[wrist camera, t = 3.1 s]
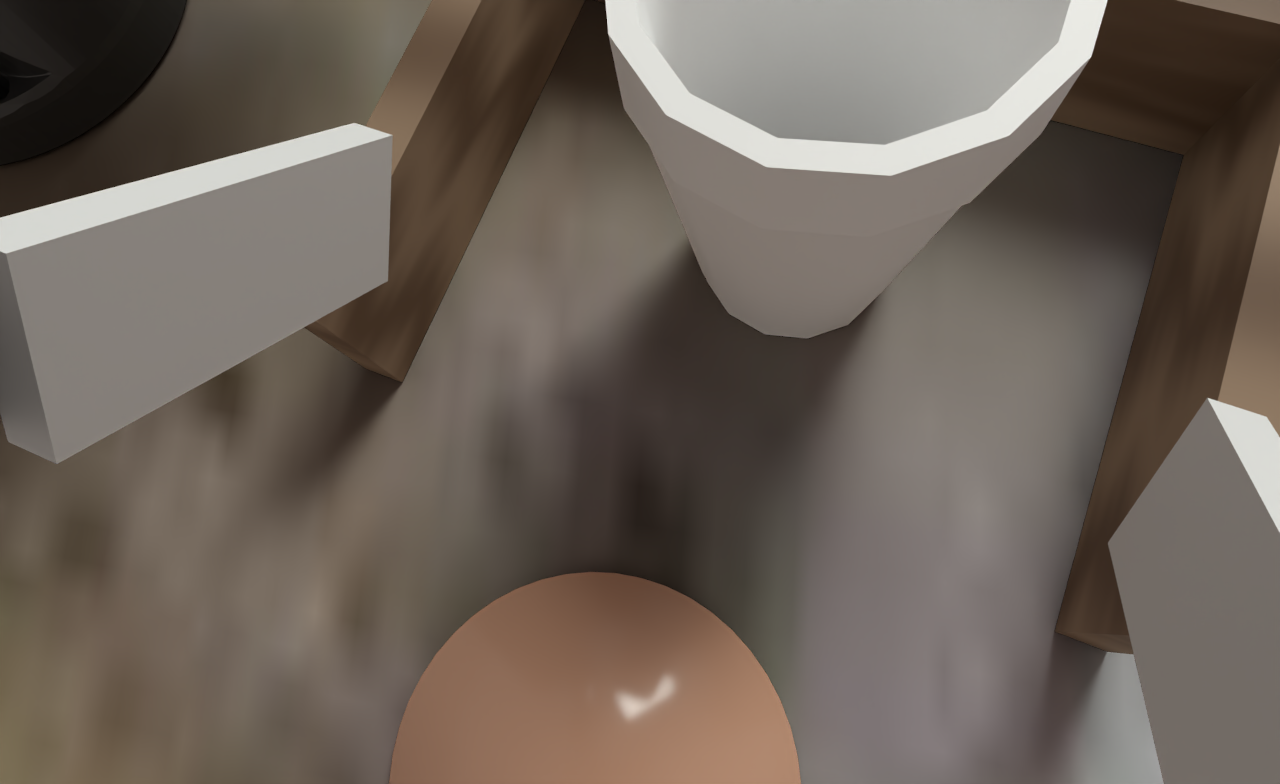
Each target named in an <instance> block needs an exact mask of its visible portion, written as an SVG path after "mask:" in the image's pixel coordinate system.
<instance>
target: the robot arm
mask: <svg viewBox="0 0 1280 784" xmlns="http://www.w3.org/2000/svg"><path fill="white" fill-rule="evenodd" d="M185 4H186V0H0V165H2V164H7V163H12V162H16V161H20V160H24V159H27V158H30V157H33V156H36V155H39V154H42V153H44V152H47V151H49V150H52V149H54V148H56V147H58V146H61V145H62V144H64V143H66V142H68V141H70V140H72V139H74V138H76V137H77V136H79V135H81V134H83V133H84V132H86V131H87V130H89V129H90V128H92V127H93V126H95V125H96V124H98V123H99V122H101V121H102V120H103V119H105V118H106V117H107V116H109V115H110V114H111V113H112V112H113V111H115V110H116V109H117V108H118V107H119V106H120V105H122V104H123V103H124V102H125V101H126V100H127V99H128V98H129V97H130V96H131V95H132V94H133V93H134V92H135V91H136V90H137V89H138V88H139V87H140V85H141V84H142V83H143V82H144V81H145V79H146V78H147V77H148V76H149V75H150V73H151V72H152V71H153V69H154V68H155V67H156V65H157V64H158V62H159V61H160V59H161V58H162V56H163V55H164V53H165V51H166V49H167V48H168V46H169V44H170V42H171V40H172V38H173V36H174V34H175V32H176V30H177V28H178V25H179V22H180V20H181V17H182V14H183V11H184V8H185ZM392 138H393V135H390V134H387V133H384V132H381V131H378V130H375V129H372V128H369V127H366V126H362V125H359V124H356V123H352V124H348V125H345V126H341V127H337V128H333V129H330V130H326V131H322V132H318V133H315V134H311V135H307V136H303V137H300V138H296V139H292V140H289V141H285V142H281V143H277V144H274V145H270V146H266V147H262V148H259V149H255V150H251V151H247V152H244V153H240V154H236V155H232V156H229V157H225V158H221V159H217V160H214V161H210V162H206V163H202V164H199V165H195V166H191V167H188V168H184V169H180V170H176V171H173V172H169V173H165V174H161V175H158V176H154V177H150V178H146V179H143V180H139V181H135V182H131V183H128V184H124V185H120V186H116V187H113V188H109V189H105V190H101V191H98V192H94V193H90V194H87V195H83V196H79V197H75V198H72V199H68V200H64V201H60V202H57V203H53V204H49V205H45V206H42V207H38V208H34V209H30V210H27V211H23V212H19V213H15V214H12V215H8V216H4V217H0V415H1V419H2V422H3V426H4V429H5V433H6V437H7V440H8V442H10V443H12V444H14V445H16V446H18V447H20V448H23V449H25V450H27V451H29V452H31V453H33V454H36V455H38V456H40V457H42V458H44V459H47V460H49V461H51V462H53V463H55V464H58V463H60V462H62V461H63V460H65V459H67V458H69V457H71V456H72V455H74V454H76V453H78V452H80V451H81V450H83V449H85V448H87V447H89V446H90V445H92V444H94V443H96V442H98V441H100V440H101V439H103V438H105V437H107V436H109V435H110V434H112V433H114V432H116V431H118V430H119V429H121V428H123V427H125V426H127V425H128V424H130V423H132V422H134V421H136V420H137V419H139V418H141V417H143V416H145V415H146V414H148V413H150V412H152V411H154V410H156V409H157V408H159V407H161V406H163V405H165V404H166V403H168V402H170V401H172V400H174V399H175V398H177V397H179V396H181V395H183V394H184V393H186V392H188V391H190V390H192V389H193V388H195V387H197V386H199V385H201V384H203V383H204V382H206V381H208V380H210V379H212V378H213V377H215V376H217V375H219V374H221V373H222V372H224V371H226V370H228V369H230V368H231V367H233V366H235V365H237V364H239V363H240V362H242V361H244V360H246V359H248V358H249V357H251V356H253V355H255V354H257V353H259V352H260V351H262V350H264V349H266V348H268V347H269V346H271V345H273V344H275V343H277V342H278V341H280V340H282V339H284V338H286V337H287V336H289V335H291V334H293V333H295V332H296V331H298V330H300V329H302V328H304V327H306V326H307V325H309V324H311V323H313V322H315V321H316V320H318V319H320V318H322V317H324V316H325V315H327V314H329V313H331V312H333V311H334V310H336V309H338V308H340V307H342V306H343V305H345V304H347V303H349V302H351V301H352V300H354V299H356V298H358V297H360V296H362V295H363V294H365V293H367V292H369V291H371V290H372V289H374V288H376V287H378V286H380V285H381V284H383V283H385V282H387V281H388V264H389V232H390V201H391V169H392ZM1108 546H1109V550H1110V554H1111V559H1112V563H1113V567H1114V572H1115V576H1116V580H1117V584H1118V589H1119V593H1120V597H1121V602H1122V606H1123V610H1124V614H1125V619H1126V623H1127V627H1128V632H1129V636H1130V640H1131V645H1132V649H1133V653H1134V657H1135V662H1136V666H1137V670H1138V675H1139V679H1140V683H1141V687H1142V692H1143V696H1144V700H1145V705H1146V709H1147V713H1148V717H1149V722H1150V726H1151V730H1152V735H1153V739H1154V743H1155V748H1156V752H1157V756H1158V760H1159V765H1160V769H1161V773H1162V778H1163V782H1164V784H1280V437H1279V435H1278V434H1277V432H1276V431H1275V429H1274V428H1273V426H1272V424H1271V423H1270V421H1269V420H1268V418H1267V417H1266V416H1263V415H1260V414H1256V413H1253V412H1250V411H1247V410H1244V409H1241V408H1238V407H1235V406H1232V405H1228V404H1225V403H1222V402H1219V401H1216V400H1213V399H1210V398H1207V399H1206V400H1205V402H1204V403H1203V405H1202V406H1201V408H1200V409H1199V410H1198V412H1197V413H1196V415H1195V416H1194V418H1193V419H1192V421H1191V422H1190V424H1189V425H1188V426H1187V428H1186V429H1185V431H1184V432H1183V434H1182V435H1181V437H1180V438H1179V440H1178V441H1177V443H1176V444H1175V445H1174V447H1173V448H1172V450H1171V451H1170V453H1169V454H1168V456H1167V457H1166V459H1165V460H1164V462H1163V463H1162V464H1161V466H1160V467H1159V469H1158V470H1157V472H1156V473H1155V475H1154V476H1153V478H1152V479H1151V480H1150V482H1149V483H1148V485H1147V486H1146V488H1145V489H1144V491H1143V492H1142V494H1141V495H1140V497H1139V498H1138V499H1137V501H1136V502H1135V504H1134V505H1133V507H1132V508H1131V510H1130V511H1129V513H1128V514H1127V516H1126V517H1125V518H1124V520H1123V521H1122V523H1121V524H1120V526H1119V527H1118V529H1117V530H1116V532H1115V533H1114V534H1113V536H1112V537H1111V539H1110V540H1109V542H1108Z"/></svg>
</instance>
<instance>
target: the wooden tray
mask: <svg viewBox="0 0 1280 784" xmlns="http://www.w3.org/2000/svg"><path fill="white" fill-rule="evenodd" d="M594 1H598V2H602V3H606V2H605V0H594ZM584 2H585V0H432V1H431V3H430V5H429V7H428V9H427V11H426V12H425V14H424V16H423V18H422V20H421V22H420V24H419V26H418V28H417V29H416V31H415V33H414V35H413V37H412V39H411V41H410V43H409V45H408V47H407V48H406V50H405V52H404V54H403V56H402V58H401V60H400V62H399V64H398V65H397V67H396V69H395V71H394V73H393V75H392V77H391V79H390V81H389V83H388V84H387V86H386V88H385V90H384V92H383V94H382V96H381V98H380V100H379V101H378V103H377V105H376V107H375V109H374V111H373V113H372V115H371V117H370V118H369V120H368V122H367V124H366V127H369V128H372V129H375V130H378V131H381V132H384V133H387V134H390V135H393V138H392V169H391V201H390V232H389V264H388V281H387V282H385V283H383V284H381V285H380V286H378V287H376V288H374V289H372V290H371V291H369V292H367V293H365V294H363V295H362V296H360V297H358V298H356V299H354V300H352V301H351V302H349V303H347V304H345V305H343V306H342V307H340V308H338V309H336V310H334V311H333V312H331V313H329V314H327V315H325V316H324V317H322V318H320V319H318V320H316V321H315V322H313V323H311V324H309V325H307V326H306V327H305V328H306V329H308V330H309V331H311V332H312V333H314V334H315V335H317V336H318V337H320V338H321V339H322V340H324V341H325V342H327V343H328V344H330V345H331V346H333V347H334V348H336V349H337V350H339V351H340V352H342V353H343V354H345V355H346V356H348V357H349V358H351V359H352V360H354V361H355V362H356V363H358V364H359V365H361V366H362V367H364V368H366V369H368V370H371V371H374V372H376V373H379V374H381V375H384V376H387V377H389V378H392V379H394V380H397V381H400V382H403V380H404V378H405V376H406V373H407V371H408V369H409V367H410V365H411V363H412V361H413V359H414V357H415V355H416V353H417V350H418V348H419V346H420V344H421V342H422V340H423V338H424V336H425V334H426V332H427V330H428V328H429V325H430V323H431V321H432V319H433V317H434V315H435V313H436V311H437V309H438V307H439V305H440V302H441V300H442V298H443V296H444V294H445V292H446V290H447V288H448V286H449V284H450V282H451V279H452V277H453V275H454V273H455V271H456V269H457V267H458V265H459V263H460V261H461V259H462V256H463V254H464V252H465V250H466V248H467V246H468V244H469V242H470V240H471V238H472V236H473V233H474V231H475V229H476V227H477V225H478V223H479V221H480V219H481V217H482V215H483V213H484V210H485V208H486V206H487V204H488V202H489V200H490V198H491V196H492V194H493V192H494V190H495V188H496V185H497V183H498V181H499V179H500V177H501V175H502V173H503V171H504V169H505V167H506V165H507V162H508V160H509V158H510V156H511V154H512V152H513V150H514V148H515V146H516V144H517V142H518V139H519V137H520V135H521V133H522V131H523V129H524V127H525V125H526V123H527V121H528V119H529V116H530V114H531V112H532V110H533V108H534V106H535V104H536V102H537V100H538V98H539V96H540V93H541V91H542V89H543V87H544V85H545V83H546V81H547V79H548V77H549V75H550V73H551V70H552V68H553V66H554V64H555V62H556V60H557V58H558V56H559V54H560V52H561V50H562V48H563V45H564V43H565V41H566V39H567V37H568V35H569V33H570V31H571V29H572V27H573V25H574V22H575V20H576V18H577V16H578V14H579V12H580V10H581V8H582V6H583V4H584ZM1051 120H1053V121H1056V122H1060V123H1064V124H1068V125H1072V126H1076V127H1079V128H1083V129H1087V130H1091V131H1095V132H1098V133H1102V134H1106V135H1110V136H1114V137H1118V138H1121V139H1125V140H1129V141H1133V142H1137V143H1140V144H1144V145H1148V146H1152V147H1156V148H1160V149H1163V150H1167V151H1171V152H1175V153H1179V154H1182V155H1184V156H1183V160H1182V163H1181V167H1180V171H1179V174H1178V178H1177V182H1176V186H1175V189H1174V193H1173V197H1172V200H1171V204H1170V208H1169V211H1168V215H1167V219H1166V222H1165V226H1164V230H1163V234H1162V237H1161V241H1160V245H1159V248H1158V252H1157V256H1156V259H1155V263H1154V267H1153V270H1152V274H1151V278H1150V282H1149V285H1148V289H1147V293H1146V296H1145V300H1144V304H1143V307H1142V311H1141V315H1140V318H1139V322H1138V326H1137V330H1136V333H1135V337H1134V341H1133V344H1132V348H1131V352H1130V355H1129V359H1128V363H1127V366H1126V370H1125V374H1124V377H1123V381H1122V385H1121V389H1120V392H1119V396H1118V400H1117V403H1116V407H1115V411H1114V414H1113V418H1112V422H1111V425H1110V429H1109V433H1108V437H1107V440H1106V444H1105V448H1104V451H1103V455H1102V459H1101V462H1100V466H1099V470H1098V473H1097V477H1096V481H1095V485H1094V488H1093V492H1092V496H1091V499H1090V503H1089V507H1088V510H1087V514H1086V518H1085V521H1084V525H1083V529H1082V532H1081V536H1080V540H1079V544H1078V547H1077V551H1076V555H1075V558H1074V562H1073V566H1072V569H1071V573H1070V577H1069V580H1068V584H1067V588H1066V592H1065V595H1064V599H1063V603H1062V606H1061V610H1060V614H1059V617H1058V621H1057V625H1056V628H1055V632H1057V633H1060V634H1063V635H1065V636H1068V637H1071V638H1073V639H1076V640H1078V641H1081V642H1084V643H1086V644H1089V645H1092V646H1094V647H1097V648H1099V649H1102V650H1105V651H1107V652H1116V653H1126V654H1134V653H1133V649H1132V645H1131V640H1130V636H1129V632H1128V627H1127V623H1126V619H1125V614H1124V610H1123V606H1122V602H1121V597H1120V593H1119V589H1118V584H1117V580H1116V576H1115V572H1114V567H1113V563H1112V559H1111V554H1110V550H1109V546H1108V542H1109V540H1110V539H1111V537H1112V536H1113V534H1114V533H1115V532H1116V530H1117V529H1118V527H1119V526H1120V524H1121V523H1122V521H1123V520H1124V518H1125V517H1126V516H1127V514H1128V513H1129V511H1130V510H1131V508H1132V507H1133V505H1134V504H1135V502H1136V501H1137V499H1138V498H1139V497H1140V495H1141V494H1142V492H1143V491H1144V489H1145V488H1146V486H1147V485H1148V483H1149V482H1150V480H1151V479H1152V478H1153V476H1154V475H1155V473H1156V472H1157V470H1158V469H1159V467H1160V466H1161V464H1162V463H1163V462H1164V460H1165V459H1166V457H1167V456H1168V454H1169V453H1170V451H1171V450H1172V448H1173V447H1174V445H1175V444H1176V443H1177V441H1178V440H1179V438H1180V437H1181V435H1182V434H1183V432H1184V431H1185V429H1186V428H1187V426H1188V425H1189V424H1190V422H1191V421H1192V419H1193V418H1194V416H1195V415H1196V413H1197V412H1198V410H1199V409H1200V408H1201V406H1202V405H1203V403H1204V402H1205V400H1206V399H1207V398H1210V399H1213V400H1216V401H1219V402H1222V403H1225V404H1228V405H1232V406H1235V407H1238V408H1241V409H1244V410H1247V411H1250V412H1253V413H1256V414H1260V415H1263V416H1266V417H1267V418H1268V420H1269V421H1270V423H1271V424H1272V426H1273V428H1274V429H1275V431H1276V432H1277V434H1278V435H1279V437H1280V0H1108V1H1107V4H1106V8H1105V11H1104V15H1103V18H1102V21H1101V25H1100V28H1099V32H1098V35H1097V39H1096V42H1095V46H1094V49H1093V53H1092V56H1091V58H1090V60H1089V61H1088V63H1087V64H1086V66H1085V67H1084V69H1083V70H1082V72H1081V73H1080V75H1079V77H1078V78H1077V80H1076V81H1075V83H1074V84H1073V86H1072V87H1071V89H1070V90H1069V92H1068V93H1067V95H1066V97H1065V98H1064V100H1063V101H1062V103H1061V104H1060V106H1059V107H1058V109H1057V110H1056V112H1055V113H1054V115H1053V117H1052V118H1051Z"/></svg>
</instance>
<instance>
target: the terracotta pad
mask: <svg viewBox="0 0 1280 784" xmlns="http://www.w3.org/2000/svg"><path fill="white" fill-rule="evenodd" d="M389 784H801V779H800V771H799V763H798V756H797V752H796V748H795V743H794V739H793V735H792V731H791V727H790V725H789V722H788V719H787V717H786V714H785V711H784V709H783V706H782V703H781V701H780V699H779V697H778V695H777V693H776V691H775V689H774V687H773V685H772V683H771V681H770V679H769V678H768V676H767V674H766V672H765V671H764V669H763V668H762V667H761V665H760V664H759V662H758V661H757V659H756V658H755V656H754V655H753V653H752V652H751V651H750V649H749V648H748V647H747V646H746V645H745V644H744V643H743V641H742V640H741V639H740V638H739V637H738V636H737V635H736V634H735V633H734V631H733V630H732V629H731V628H729V627H728V626H727V625H726V624H725V623H724V622H723V621H721V620H720V619H719V618H718V617H717V616H716V615H714V614H713V613H712V612H711V611H709V610H708V609H706V608H705V607H703V606H702V605H700V604H699V603H697V602H696V601H694V600H693V599H691V598H689V597H687V596H685V595H683V594H681V593H679V592H677V591H675V590H673V589H671V588H669V587H667V586H664V585H661V584H658V583H655V582H652V581H649V580H646V579H643V578H639V577H634V576H629V575H623V574H618V573H603V572H584V573H572V574H564V575H559V576H555V577H550V578H546V579H542V580H539V581H536V582H533V583H531V584H528V585H525V586H522V587H520V588H517V589H515V590H513V591H511V592H510V593H508V594H506V595H504V596H502V597H500V598H498V599H496V600H494V601H493V602H492V603H490V604H489V605H487V606H486V607H484V608H483V609H482V610H480V611H479V612H477V613H476V614H475V615H473V616H472V617H471V618H470V619H469V620H468V621H467V622H466V623H464V624H463V625H462V626H461V627H460V628H459V629H458V630H457V631H456V632H455V633H454V634H453V635H452V636H451V637H450V638H449V639H448V641H447V642H446V643H445V644H444V645H443V646H442V648H441V649H440V650H439V651H438V652H437V654H436V655H435V657H434V658H433V660H432V661H431V663H430V664H429V666H428V667H427V669H426V670H425V672H424V673H423V675H422V676H421V678H420V680H419V682H418V684H417V686H416V688H415V690H414V692H413V694H412V696H411V698H410V700H409V702H408V705H407V708H406V710H405V713H404V716H403V718H402V721H401V724H400V727H399V731H398V735H397V739H396V743H395V747H394V751H393V756H392V764H391V772H390V780H389Z"/></svg>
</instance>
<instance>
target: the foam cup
mask: <svg viewBox="0 0 1280 784" xmlns="http://www.w3.org/2000/svg"><path fill="white" fill-rule="evenodd" d="M1107 1H1108V0H605V2H606V14H607V25H608V35H609V40H610V45H611V50H612V54H613V59H614V64H615V69H616V74H617V78H618V83H619V88H620V93H621V97H622V102H623V107H624V110H625V111H626V113H627V114H628V116H629V117H630V118H631V120H632V121H633V123H634V124H635V126H636V127H637V129H638V130H639V131H640V133H641V134H642V136H643V137H644V139H645V140H646V141H647V143H648V144H649V146H650V149H651V151H652V154H653V156H654V158H655V161H656V163H657V165H658V168H659V170H660V173H661V175H662V177H663V180H664V182H665V185H666V187H667V189H668V192H669V194H670V196H671V199H672V201H673V204H674V206H675V208H676V211H677V213H678V216H679V218H680V220H681V223H682V225H683V227H684V230H685V232H686V235H687V237H688V239H689V242H690V244H691V246H692V249H693V251H694V254H695V256H696V258H697V261H698V263H699V266H700V268H701V270H702V273H703V275H704V276H705V278H706V281H707V283H708V284H709V285H710V287H711V288H712V290H713V291H714V293H715V294H716V296H717V297H718V299H719V300H720V302H721V303H722V305H723V306H724V308H725V309H726V311H727V312H728V314H730V315H732V316H734V317H735V318H737V319H739V320H740V321H742V322H744V323H746V324H747V325H749V326H751V327H753V328H754V329H756V330H758V331H760V332H761V333H763V334H766V335H776V336H786V337H797V338H807V339H808V338H811V337H814V336H817V335H820V334H823V333H826V332H829V331H832V330H835V329H837V328H840V327H843V326H846V325H849V324H850V323H851V322H852V321H853V320H854V319H855V318H856V317H857V316H858V315H859V314H860V313H861V312H862V311H863V310H864V309H865V308H866V307H867V306H868V305H869V304H870V303H871V302H872V301H873V300H874V299H875V298H876V297H877V296H878V295H880V294H881V293H882V292H883V291H884V290H885V289H886V287H887V286H888V285H889V284H890V283H891V282H892V281H893V280H894V279H895V278H896V277H897V276H898V274H899V273H900V272H901V271H902V270H903V269H904V268H905V267H906V266H907V265H908V264H909V262H910V261H911V260H912V259H913V258H914V257H915V256H916V255H917V254H918V253H919V252H920V251H921V249H922V248H923V247H924V246H925V245H926V244H927V243H928V242H929V241H930V240H931V239H932V238H933V236H934V235H935V234H936V233H937V232H938V231H939V230H940V229H941V228H942V227H943V226H944V225H945V223H946V222H947V221H948V220H949V219H950V218H951V217H952V216H953V215H954V214H955V213H956V212H957V210H958V209H959V208H960V207H961V206H962V205H965V204H968V203H970V202H971V201H972V200H973V199H974V198H975V197H976V196H978V195H979V194H980V193H981V192H982V191H983V190H984V189H985V188H986V187H987V186H988V185H989V184H990V183H991V182H992V181H993V180H994V179H995V178H996V177H997V176H998V175H999V174H1000V173H1001V172H1002V171H1003V170H1004V169H1005V168H1007V167H1008V166H1009V165H1010V164H1011V163H1012V162H1013V161H1014V160H1015V159H1016V158H1017V157H1018V156H1019V155H1020V154H1021V153H1022V152H1023V151H1024V150H1025V149H1026V148H1027V147H1028V146H1029V145H1030V144H1031V143H1032V142H1033V141H1034V140H1035V139H1037V138H1038V137H1039V136H1040V135H1041V133H1042V132H1043V130H1044V129H1045V127H1046V126H1047V124H1048V123H1049V121H1050V120H1051V118H1052V117H1053V115H1054V113H1055V112H1056V110H1057V109H1058V107H1059V106H1060V104H1061V103H1062V101H1063V100H1064V98H1065V97H1066V95H1067V93H1068V92H1069V90H1070V89H1071V87H1072V86H1073V84H1074V83H1075V81H1076V80H1077V78H1078V77H1079V75H1080V73H1081V72H1082V70H1083V69H1084V67H1085V66H1086V64H1087V63H1088V61H1089V60H1090V58H1091V56H1092V53H1093V49H1094V46H1095V42H1096V39H1097V35H1098V32H1099V28H1100V25H1101V21H1102V18H1103V15H1104V11H1105V8H1106V4H1107Z"/></svg>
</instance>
